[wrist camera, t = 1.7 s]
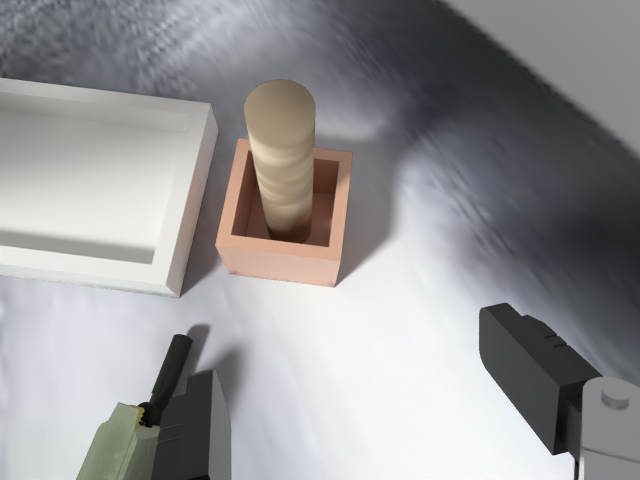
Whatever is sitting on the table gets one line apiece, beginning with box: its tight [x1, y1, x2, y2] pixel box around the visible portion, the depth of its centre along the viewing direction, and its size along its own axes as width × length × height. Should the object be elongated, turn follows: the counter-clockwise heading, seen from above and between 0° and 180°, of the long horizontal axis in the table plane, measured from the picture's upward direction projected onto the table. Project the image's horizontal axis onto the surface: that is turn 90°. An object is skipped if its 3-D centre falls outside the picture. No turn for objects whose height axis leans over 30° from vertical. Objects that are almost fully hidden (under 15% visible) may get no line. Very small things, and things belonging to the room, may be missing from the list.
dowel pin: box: [244, 80, 315, 244], centre depth 28 cm, size 3×3×14 cm
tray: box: [0, 78, 219, 298], centre depth 34 cm, size 20×14×4 cm
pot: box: [215, 138, 353, 287], centre depth 32 cm, size 8×8×6 cm
